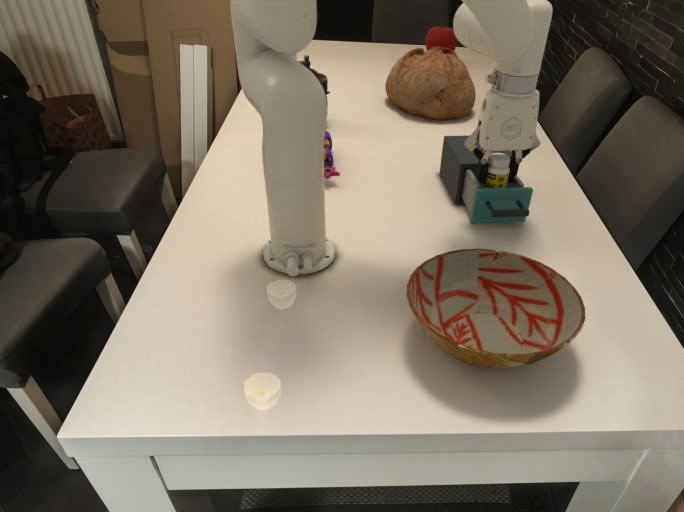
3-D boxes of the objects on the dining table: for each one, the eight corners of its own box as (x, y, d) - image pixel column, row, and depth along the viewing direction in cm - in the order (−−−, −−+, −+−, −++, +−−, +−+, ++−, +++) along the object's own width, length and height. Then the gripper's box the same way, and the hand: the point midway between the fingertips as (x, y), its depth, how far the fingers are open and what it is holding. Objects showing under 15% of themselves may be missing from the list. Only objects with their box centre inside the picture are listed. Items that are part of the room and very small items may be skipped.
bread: (487, 118, 152) (497, 60, 142) (411, 127, 145) (416, 66, 135) (444, 88, 170) (450, 34, 160) (374, 95, 163) (376, 39, 153)
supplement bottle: (478, 200, 108) (485, 159, 103) (481, 190, 112) (488, 150, 106) (502, 204, 107) (511, 163, 102) (505, 194, 111) (513, 153, 105)
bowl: (544, 289, 93) (556, 249, 87) (593, 399, 74) (612, 357, 69) (397, 287, 92) (400, 246, 86) (409, 399, 73) (414, 356, 68)
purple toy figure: (336, 142, 136) (335, 90, 127) (340, 189, 117) (340, 131, 109) (276, 142, 134) (272, 90, 126) (271, 189, 116) (266, 131, 108)
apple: (459, 62, 193) (464, 24, 185) (446, 68, 186) (450, 30, 178) (432, 56, 197) (435, 19, 189) (417, 62, 190) (421, 24, 182)
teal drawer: (533, 235, 104) (542, 202, 100) (477, 237, 103) (484, 204, 98) (504, 191, 117) (511, 160, 113) (454, 193, 116) (459, 161, 111)
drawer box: (510, 202, 116) (519, 162, 110) (454, 204, 114) (460, 163, 108) (491, 172, 126) (498, 134, 120) (439, 174, 125) (444, 135, 119)
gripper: (473, 88, 91) (457, 190, 103) (569, 88, 93) (543, 188, 105) (461, 75, 97) (448, 173, 109) (552, 75, 99) (529, 171, 111)
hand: (495, 179), depth 107 cm, fingers closed on supplement bottle, 4 cm apart
